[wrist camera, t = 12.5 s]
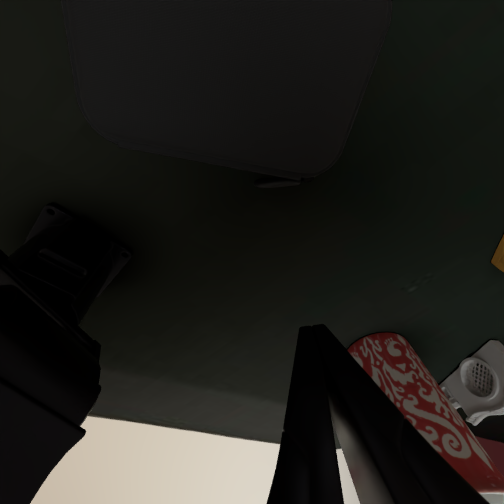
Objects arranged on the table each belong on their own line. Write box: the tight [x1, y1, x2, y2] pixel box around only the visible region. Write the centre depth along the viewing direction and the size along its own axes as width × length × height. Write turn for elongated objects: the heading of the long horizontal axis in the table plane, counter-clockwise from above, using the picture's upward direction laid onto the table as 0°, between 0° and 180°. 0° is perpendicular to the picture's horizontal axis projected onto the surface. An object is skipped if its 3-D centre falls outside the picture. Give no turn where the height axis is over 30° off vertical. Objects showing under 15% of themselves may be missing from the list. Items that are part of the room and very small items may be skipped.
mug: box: [347, 332, 504, 504], centre depth 26 cm, size 13×9×14 cm
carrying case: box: [61, 0, 392, 188], centre depth 14 cm, size 11×3×15 cm
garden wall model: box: [439, 340, 504, 426], centre depth 31 cm, size 12×2×6 cm, turn 168°
